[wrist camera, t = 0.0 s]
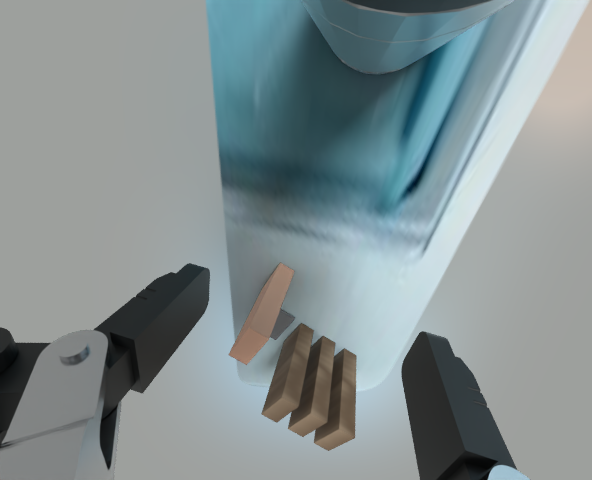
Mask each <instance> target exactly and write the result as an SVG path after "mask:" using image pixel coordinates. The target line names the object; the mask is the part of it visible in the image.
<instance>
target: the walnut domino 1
mask: <svg viewBox="0 0 592 480" xmlns="http://www.w3.org/2000/svg"><path fill="white" fill-rule="evenodd" d="M313 332H314V330H312V329H311V328H309V327H307V326H306V325H304V324H302V323H301V324H300V325H299V326H298V327H297V328H296V329H295V330H294V331H293V332H292V333H291V335H290V336H289V337H288V338H287V339H286V340H285V341H284V344H283V347H282V350H281V353H280V356H279V360H278V363H277V366H276V369H275V372H274V376H273V379H272V382H271V385H270V388H269V392H268V395H267V398H266V401H265V405H264V408H263V411H262V415H264V416H266V417H268V418H269V419H271V420H273V421H275V422H278V421H279V420H281V419H282V418H284V417H285V416H286V415H288V414H289V413H290V412H292V411H293V410H295V409H296V408H297V407H299V402H300V397H301V392H302V387H303V382H304V377H305V372H306V367H307V362H308V357H309V352H310V347H311V342H312V337H313Z"/></svg>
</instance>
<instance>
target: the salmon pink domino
mask: <svg viewBox="0 0 592 480" xmlns="http://www.w3.org/2000/svg"><path fill="white" fill-rule="evenodd" d="M293 274H294V270H292V269H290V268H289V267H287V266H285V265H284V264H282V263H280V264H279V265H278V267H277V268H276V269H275V271H274V272H273V274H272V275H271V277H270V278H269V279H268V281H267V282H266V284H265V285H264V287H263V288H262V290H261V292H260V294H259V296H258V298H257V300H256V302H255V304H254V306H253V308H252V310H251V312H250V314H249V316H248V318H247V320H246V322H245V323H244V325H243V327H242V329H241V331H240V333H239V335H238V337H237V339H236V341H235V343H234V345H233V347H232V349H231V351H230V353H229V355H230V356H232V357H233V358H235V359H237V360H239V361H240V362H242V363H244V364H246V365H247V364H248V363H249V362H250V360H251V359H252V358H253V357H254V356H255V355H256V354H257V352H258V351H259V350H260V349H261V348H262V347H263V345H264V344H265V343H266V342H267V341H268V340H269V338H270V335H271V333H272V330H273V327H274V325H275V322H276V319H277V317H278V314H279V311H280V309H281V306H282V303H283V301H284V298H285V295H286V293H287V290H288V287H289V285H290V282H291V279H292V277H293Z"/></svg>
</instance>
